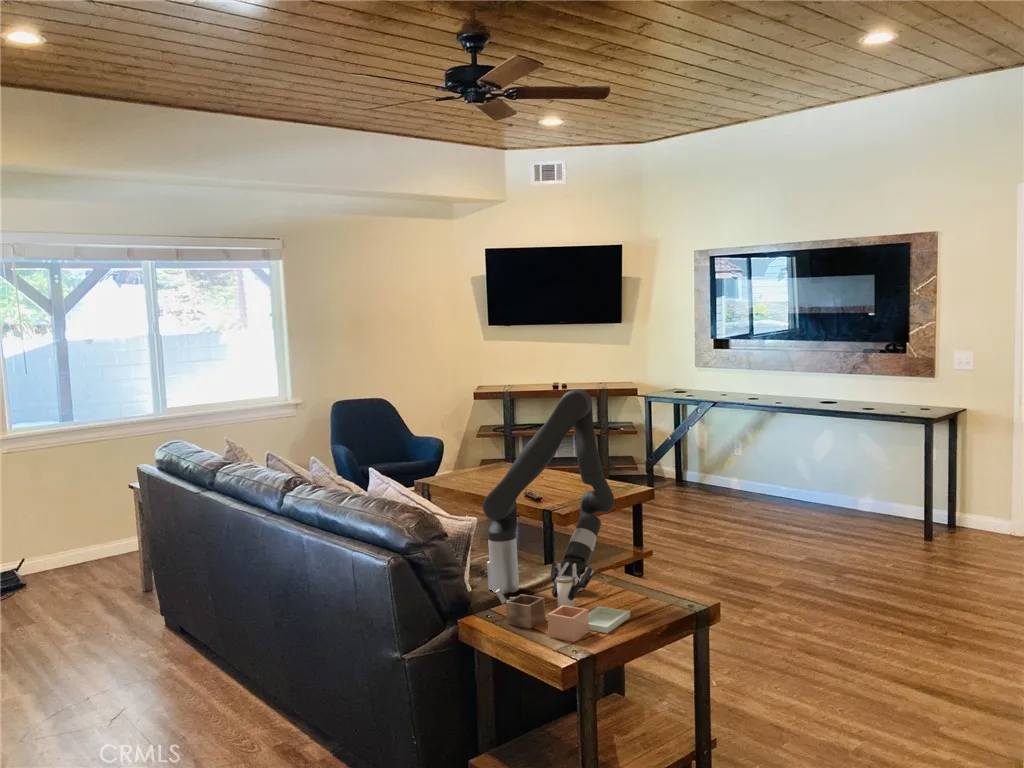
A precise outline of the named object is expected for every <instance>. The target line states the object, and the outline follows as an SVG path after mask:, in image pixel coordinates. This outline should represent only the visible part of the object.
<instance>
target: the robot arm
mask: <svg viewBox="0 0 1024 768" xmlns="http://www.w3.org/2000/svg"><path fill="white" fill-rule="evenodd" d="M594 427H595V426H594V418H593V399H592V397H591V395H590V394H589V393H588V392H587V391H586V390H584V389H582V388H581V389H580V388H575V389H570V390H568V391H566V392H565V393H564V394H563V395H562V396H561V398H560V400H559V401H558V402H557V404H556V407H555V408H554V410H553V411H552V413H551V414H550V416H549V417H548V419H547V421H546V422H545V423H544V424H543V425H542V426H541V427H540V428H538V431H537V432H536V433H535V434H534V435H533V436H532V437H531V439H529V441H528V442H527V444H526V445H525V446H524V447H523V448H522V450H521V451H520V452H519V454H518V456H516V457H517V458H516V459H515V460H514V462H513V463H512V464H511V466H510V468H509V469H508V471H507V473H506V474H505V476H504V477H503V478H502V479H501V481H499V483H498V484H497V485H496V486H495V487H494V488H493V489H492V490H491V491H490V492H489V493H488V494H487V495H486V496H485V497H484V500H483V503H482V510H483V514H484V516H486V517H487V518H488V519H489V520H490V524H489V526H488V530H487V541H488V542H487V543H488V544H487V545H488V557H489V560H487V562H486V567H487V568H486V569H487V585H488V590H489V589H490V590H492V591H493V592H492V591H491V592H492V593H494V594H496V590H497V589H499V588H500V590H501V591H502V593H503V595H505V594H509V593H515V592H517V591H519V590H520V583H519V582H520V580H519V566H518V565H519V563H518V548H517V529H518V508H517V507H518V505H517V499H518V497H519V496H520V495H521V493H522V492H523V491H524V490H525V489H526V488H527V487H528V486H529V485H530V484H532V482H533V481H535V479H536V478H537V477H538V476H540V474H541V473H542V472H543V471H544V470H545V469H546V468H547V467H548V465H549V463H550V462H551V461H552V459H553V458H554V456H555V455H556V453H557V451H558V450H559V448H560V446H561V443H562V442H563V440H564V438H565V437H566V436H567V434H568V433H569V432H570V430H571V429H572V428H574V435H575V441H576V445H575V446H576V460H577V465H578V470H579V474H580V479H581V482H582V483H583V484H585V485H587V486H591V487H592V488H593V490H587V491H585V492H584V494H582V496H581V498H580V503H579V505H580V506H579V517H578V521H577V523H576V526H575V529H574V531H573V533H572V535H571V537H570V539H569V543H568V545H567V548H566V550H565V553H564V556H563V557H564V558H563V560H561V562H560V563H556V562H555V561H553V562H552V563H551V569H550V577H549V578H550V581H551V582H552V583H553V587H552V589H551V594H552V597H553V598H557V581H556V577H558V576H562V575H563V574H564V575H569V576H573V579H574V580H573V586H572V587H571V589H570V592H569V595H568V598H569V600H572V601H573V599H574V600H575V599H576V596H577V594H578V593H579V592H578V589H580V588H582V590H584V589H586V588H587V586H588V585H589V583H590V581H591V580H592V578H593V577H594V575H595V571H594V569H593V568H592V567H588V565H589V563H590V560H591V557H592V554H593V552H594V550H595V545H596V543H597V538H598V535H599V532H600V529H601V526H602V522H601V520H600V518H599V517H597V516H596V515H595V514H601V513H609V512H611V511H612V510H613V509H614V506H615V497H614V493H613V490H612V489H611V487H610V485H609V483H608V481H607V480H606V477H605V476H604V473H603V466H602V462H601V459H600V454H599V449H598V445H597V441H596V435H595V428H594ZM560 568H562V570H561V571H560ZM558 571H560V572H559V574H558ZM582 575H583V576H582ZM490 590H489V591H490Z"/></svg>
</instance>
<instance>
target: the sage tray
mask: <svg viewBox="0 0 1024 768" xmlns="http://www.w3.org/2000/svg"><path fill="white" fill-rule="evenodd" d="M630 618H631V611H630V610H626V609H618V608H613V607H607V606H601V605H599V606H597V607H595V608H594V609H592V610H590V611H588V619H589V632H590V631H592V632H597V633H601V634H602V633H603V634H609V633H610V632H612V631H613V630H614V629H616V628H617V627H619V626H620V625H621V624H623V623H624V622H625V621H627V620H628V619H630Z"/></svg>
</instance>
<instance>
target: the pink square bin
mask: <svg viewBox="0 0 1024 768" xmlns="http://www.w3.org/2000/svg"><path fill="white" fill-rule="evenodd" d="M588 613H589V609H587V608H583V607H577V606H574V607H571V606H565V605H562V606H560V607H559V608H558V607H557V608H555V609H554V610H552V611H550V612H549V613H547V626H548V627H547V628H548V638H553V639H556V640H557V639H558V640H562V641H567V642H573V643H575V642H576V641H578V640H580V639H581V638H583V637H584V636H586V635H587V634H588V633H589V632H590V630H589V619H588Z"/></svg>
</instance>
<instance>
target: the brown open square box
mask: <svg viewBox="0 0 1024 768" xmlns="http://www.w3.org/2000/svg"><path fill="white" fill-rule="evenodd" d="M514 597H515V598H513V599H511V600H510V599H508V600H509V601H507V602H505V609H506V611H505V612H506V613H505V614H506V624H507V625H509V626H510V625H511V626H516V627H521V628H527V629H532V628H534V627H535V626H537V625H538V624H540V623H542V622H543V621H545V620H546V602H545V601H546V600H545V597H541V596H537V595H528V594H522V593H521V594H519V595H517V596H514Z"/></svg>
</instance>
